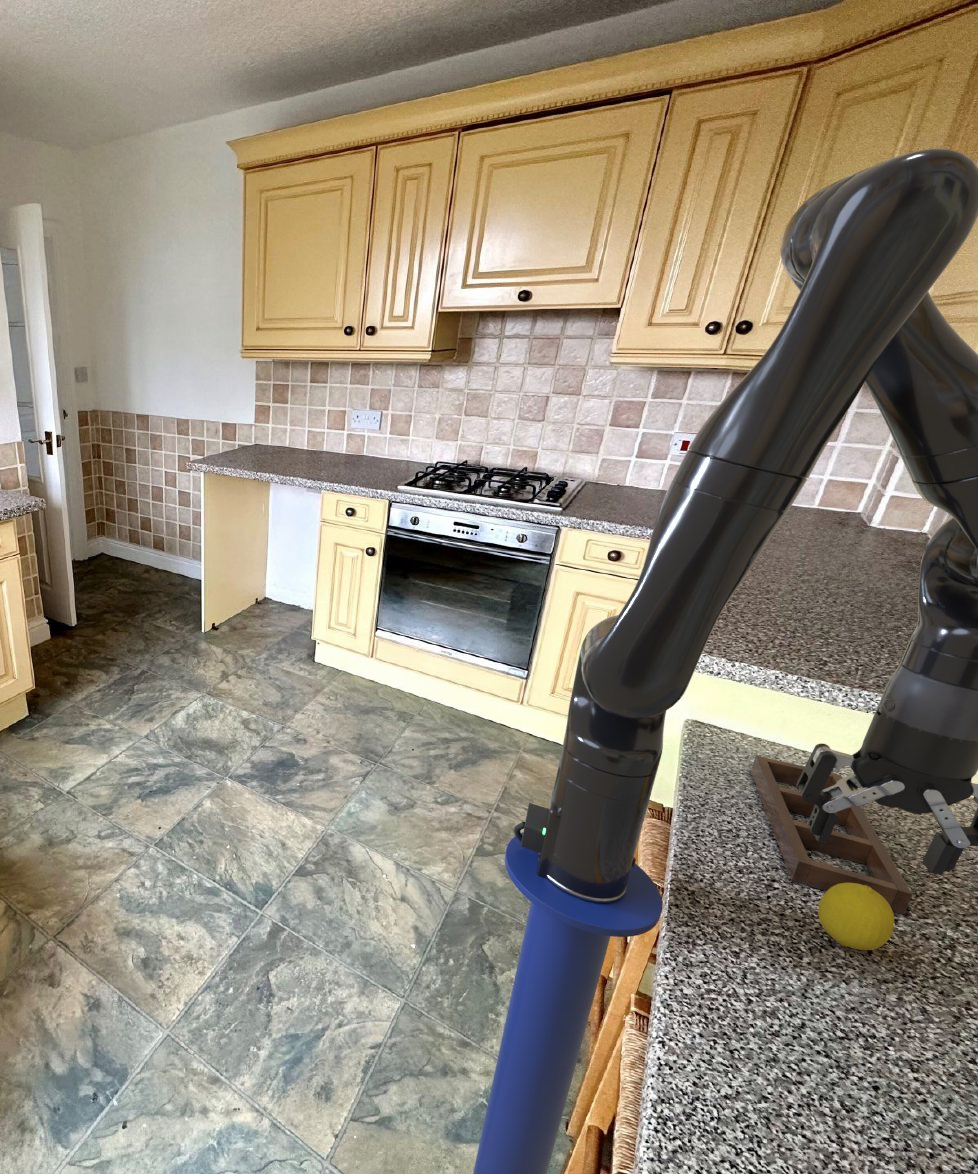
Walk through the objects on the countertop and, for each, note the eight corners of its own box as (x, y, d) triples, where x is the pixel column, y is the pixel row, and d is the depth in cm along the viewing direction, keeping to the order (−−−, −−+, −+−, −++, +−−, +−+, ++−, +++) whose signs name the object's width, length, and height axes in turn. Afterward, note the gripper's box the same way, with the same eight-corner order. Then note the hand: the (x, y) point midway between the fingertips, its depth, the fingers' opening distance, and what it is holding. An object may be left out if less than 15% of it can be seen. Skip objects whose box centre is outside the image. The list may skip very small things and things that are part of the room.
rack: (791, 881, 78) (798, 861, 77) (750, 771, 100) (755, 755, 99) (903, 915, 73) (913, 894, 72) (834, 791, 95) (841, 774, 94)
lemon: (888, 975, 66) (915, 915, 63) (817, 952, 68) (841, 894, 66) (867, 937, 70) (892, 879, 68) (802, 917, 73) (824, 861, 70)
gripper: (1023, 721, 60) (954, 858, 66) (824, 683, 67) (776, 809, 73) (1071, 759, 54) (990, 906, 59) (847, 712, 61) (792, 848, 66)
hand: (873, 853), depth 66 cm, fingers open, 8 cm apart
